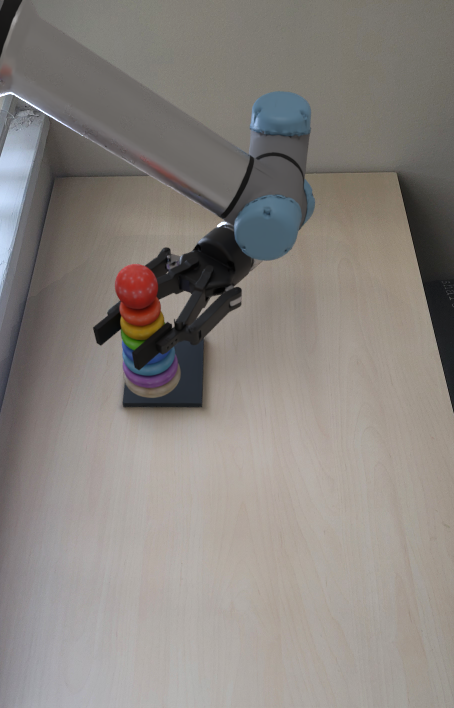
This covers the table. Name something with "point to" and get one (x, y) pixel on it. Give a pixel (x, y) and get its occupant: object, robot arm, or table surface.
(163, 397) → the mat
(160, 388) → the stacking toy
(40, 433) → the table surface
